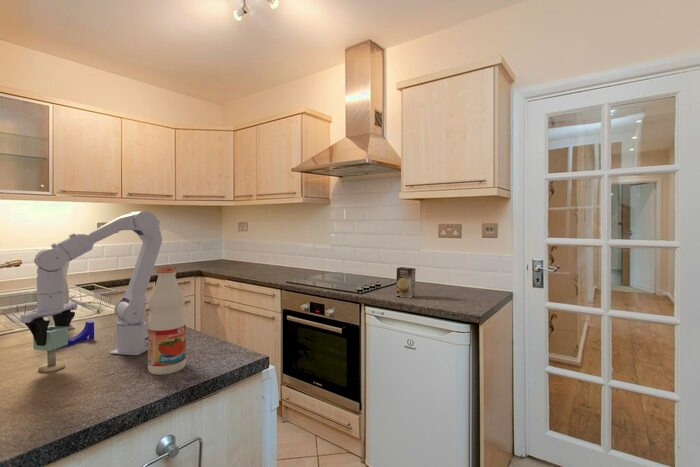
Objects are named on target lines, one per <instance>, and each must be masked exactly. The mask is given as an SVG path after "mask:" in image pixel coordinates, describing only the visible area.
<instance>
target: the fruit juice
mask: <svg viewBox="0 0 700 467" xmlns="http://www.w3.org/2000/svg"><path fill="white" fill-rule="evenodd" d="M177 272H178V270H177V268H176V267H171V266H169V267H168V266H166V267H158V268H156V275H157V279H156V282H155V286H154V289H153V291H152V292H151V293H150V294H149V296H148V298H147V300H148V301H147V306H148V308H149V315H148V318H147V323H148V350H147V370H148V372H149V373H150V374H152V375H157V376H158V375H159V376H161V375H162V376H163V375H170V374H173V373H177V372H179V371H182V369H184V368H185V367H186V362H187V361H186V358H187V357H186V355H187V353H186V352H187V351H186V348H187V347H186V346H187V344H186V339H187V338H186V335H187V334H186V333H187V332H186V328H187V326H186V313H185V311H184V306H185V302H186V296H185V293H184V292H183V290H181V288H180V286H179V284H178V280H177V276H176V274H177Z"/></svg>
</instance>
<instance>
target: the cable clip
mask: <svg viewBox="0 0 700 467" xmlns="http://www.w3.org/2000/svg"><path fill="white" fill-rule="evenodd" d="M91 340H95V321H93V320H88V321H85V324H84V327H83V329H81V331H80V332H79V333H78V334H76V335H75V336H72V337H68V344H67V345H65V346H62V347H59V348H58V349H60V348H64V347H70V346H74V345H76V344H77V343H81V342H86V341H91Z"/></svg>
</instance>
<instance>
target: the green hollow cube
mask: <svg viewBox="0 0 700 467" xmlns="http://www.w3.org/2000/svg"><path fill="white" fill-rule="evenodd" d="M32 337H33V336H32ZM68 338H69V330H68V327H66V326H49V325H48V329H47V338H46V345H44V346H37V345H36V342H35V339H34V337H33V338H32V341H33V342H32V344H33V349H32V350H34V351H46V352H47V351H51V350H54V349H56V350H57V349H60V348H59V347H61V348H63V347H62V346H65V345H67V344H68Z"/></svg>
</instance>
